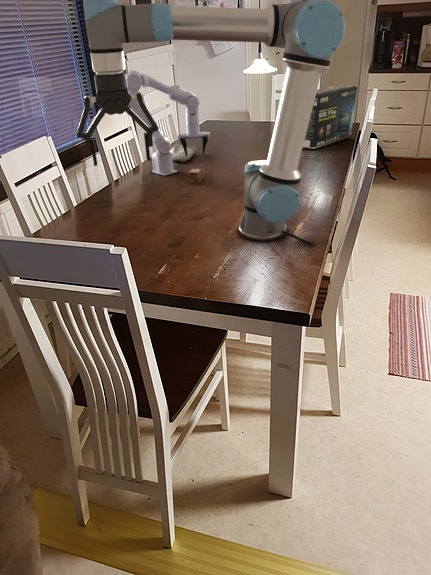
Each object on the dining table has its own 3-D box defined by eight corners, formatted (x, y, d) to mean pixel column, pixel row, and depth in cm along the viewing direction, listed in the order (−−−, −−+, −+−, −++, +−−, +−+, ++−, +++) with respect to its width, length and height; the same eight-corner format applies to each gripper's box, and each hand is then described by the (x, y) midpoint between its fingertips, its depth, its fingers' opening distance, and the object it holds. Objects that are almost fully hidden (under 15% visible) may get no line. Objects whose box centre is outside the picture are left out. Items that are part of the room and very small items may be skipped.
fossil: (184, 156, 217) (163, 136, 220) (174, 174, 223) (154, 154, 227) (205, 153, 231) (186, 134, 234) (195, 171, 237) (176, 152, 240)
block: (201, 180, 199) (201, 169, 196) (198, 183, 194) (197, 172, 192) (192, 179, 200) (192, 168, 197) (189, 183, 195) (188, 172, 193)
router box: (314, 151, 231) (318, 94, 217) (296, 148, 237) (299, 92, 224) (352, 138, 251) (358, 85, 238) (335, 135, 258) (340, 83, 245)
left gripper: (207, 120, 206) (208, 151, 213) (175, 123, 203) (177, 153, 210) (210, 123, 200) (211, 154, 207) (177, 126, 197) (179, 157, 204)
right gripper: (160, 67, 114) (167, 153, 125) (56, 74, 109) (73, 162, 120) (164, 70, 107) (171, 161, 118) (54, 77, 103) (72, 170, 114)
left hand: (194, 154), depth 208 cm, fingers open, 7 cm apart
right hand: (122, 162), depth 119 cm, fingers open, 13 cm apart
